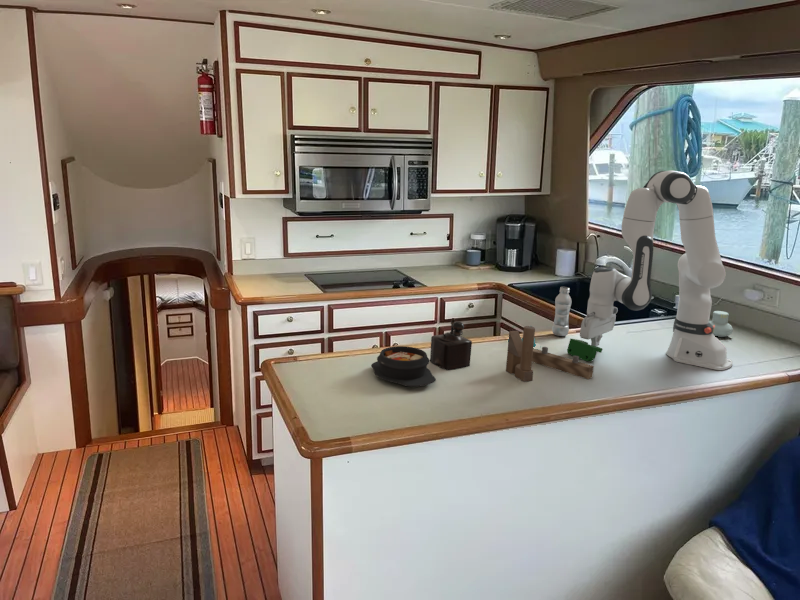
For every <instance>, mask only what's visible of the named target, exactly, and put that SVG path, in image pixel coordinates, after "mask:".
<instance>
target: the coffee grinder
mask: <svg viewBox="0 0 800 600" xmlns="http://www.w3.org/2000/svg"><path fill="white" fill-rule="evenodd" d="M450 325H451V326H450V331H449V332H445V333H443V334H436V335H431V338H430V340H431V341H430V358H429V360H430V362H429V363H432V364H433V365H435V366H436V367H439V368H440V369H442V370H445V371H453V370H458V369H465V368H469V367H470V365H471V356H472V347H473V346H472V345H473V341H472V340H470V339H469V338H466V337H464V336H463V334H464V331H463V330H464V328H465V325H464V323H463V322H462V321H457V320H456V318H453V317H452V318H451V320H450Z"/></svg>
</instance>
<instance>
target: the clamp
mask: <svg viewBox="0 0 800 600" xmlns="http://www.w3.org/2000/svg"><path fill="white" fill-rule="evenodd" d="M566 351H567V354H568V355H571V356H572V357H573V356H579V360H583V361H585V362H590V363H591V362H593V361H594V360H595V358H596V356H597V353H602V351H603V348H601V347H599V346H592V345H591V344H589V342H587V341H584V340H582V339H576V338H570V339H569V342H568V346H567V349H566Z"/></svg>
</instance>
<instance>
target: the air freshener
mask: <svg viewBox="0 0 800 600" xmlns="http://www.w3.org/2000/svg"><path fill="white" fill-rule="evenodd" d="M729 315H730V314H729V312H727V311H723V310H722V311H721V310H714V311H713V312H712V318H711V320H709V323H710V324H711V325H712V326H714V325H715V327H714V329H713V333H712V334H713V335H714V336H718V337H717V338H725V337H728V336H731V335H732V334H733V332H734V328H733V326H732V325H731V324H730V323H729Z"/></svg>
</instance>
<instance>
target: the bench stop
mask: <svg viewBox="0 0 800 600" xmlns="http://www.w3.org/2000/svg"><path fill="white" fill-rule="evenodd" d="M548 351H549V347H547V346H542V348H541V350H540V349H534V348H533V355H532V363H534V362H535V364H538V365H540V366H544V367H548V368H551V369H553V370H557V371H560V372H564V373H566V374H569V375H572V376H575V377H579V378H582V379H585V380H589V379H592V378H593V375H594V365H591V364H588V363H584V362H581V361H580V358H579V356H573V355H572V358H568V357H564V356H561V355H557V354H554V353H551V352H548Z"/></svg>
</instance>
